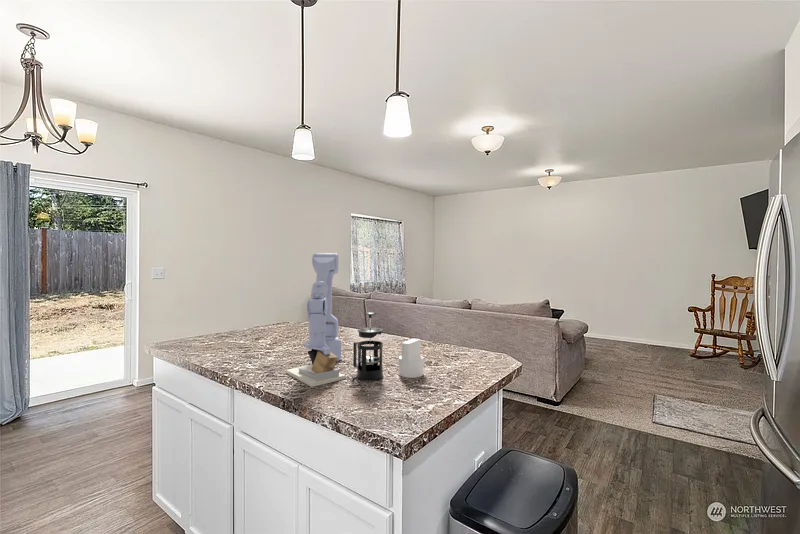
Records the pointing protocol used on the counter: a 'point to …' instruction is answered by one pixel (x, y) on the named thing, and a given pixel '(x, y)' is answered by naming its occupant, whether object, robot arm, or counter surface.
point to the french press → (370, 365)
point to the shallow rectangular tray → (315, 375)
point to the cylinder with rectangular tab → (411, 359)
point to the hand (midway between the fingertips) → (317, 370)
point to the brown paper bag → (324, 362)
